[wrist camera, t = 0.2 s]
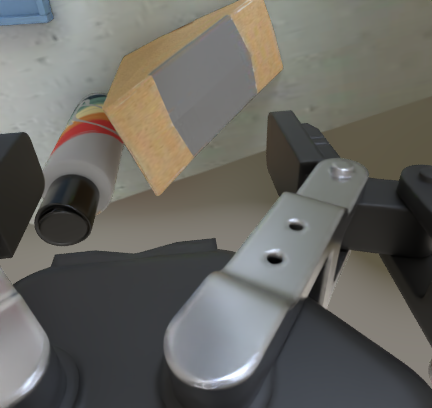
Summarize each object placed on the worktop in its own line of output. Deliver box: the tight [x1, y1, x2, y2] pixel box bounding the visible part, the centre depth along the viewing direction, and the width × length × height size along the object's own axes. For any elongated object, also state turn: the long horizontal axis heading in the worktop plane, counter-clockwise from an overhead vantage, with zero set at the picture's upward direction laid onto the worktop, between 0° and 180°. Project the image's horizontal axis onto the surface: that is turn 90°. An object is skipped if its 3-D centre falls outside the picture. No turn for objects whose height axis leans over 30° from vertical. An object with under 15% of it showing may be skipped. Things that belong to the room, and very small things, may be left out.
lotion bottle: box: [34, 93, 124, 246], centre depth 34 cm, size 6×6×20 cm
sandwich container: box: [102, 0, 283, 196], centre depth 33 cm, size 9×15×15 cm, turn 112°
